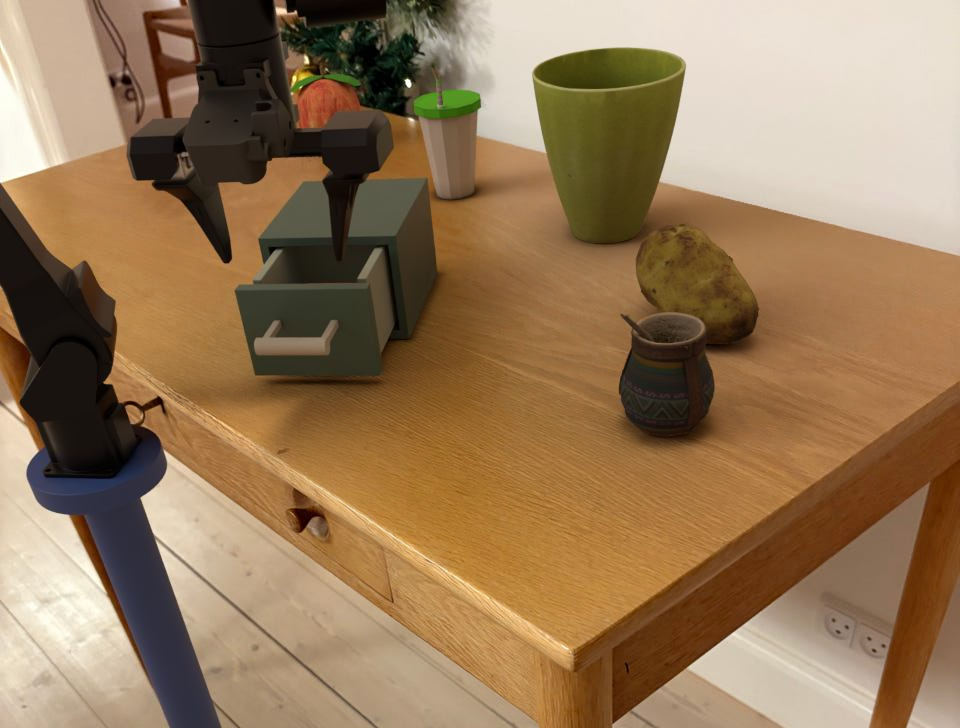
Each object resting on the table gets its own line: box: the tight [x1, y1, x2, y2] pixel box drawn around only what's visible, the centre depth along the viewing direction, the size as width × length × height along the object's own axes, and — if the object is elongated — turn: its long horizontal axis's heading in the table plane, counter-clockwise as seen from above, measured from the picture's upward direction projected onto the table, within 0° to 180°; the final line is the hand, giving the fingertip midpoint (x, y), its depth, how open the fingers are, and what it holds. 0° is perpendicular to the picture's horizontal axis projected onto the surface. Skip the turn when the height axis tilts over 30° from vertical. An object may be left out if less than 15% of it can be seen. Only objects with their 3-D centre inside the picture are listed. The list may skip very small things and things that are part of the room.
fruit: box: [290, 64, 362, 128], centre depth 139 cm, size 9×10×10 cm
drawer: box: [234, 245, 398, 377], centre depth 91 cm, size 18×11×8 cm, turn 171°
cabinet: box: [257, 177, 439, 340], centre depth 100 cm, size 15×13×10 cm
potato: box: [635, 223, 760, 345], centre depth 92 cm, size 8×13×8 cm, turn 13°
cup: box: [413, 62, 482, 201], centre depth 120 cm, size 8×8×15 cm
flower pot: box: [531, 46, 687, 244], centre depth 107 cm, size 15×15×16 cm
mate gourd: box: [618, 312, 716, 437], centre depth 79 cm, size 7×8×10 cm
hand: (283, 260), depth 82 cm, fingers open, 9 cm apart
